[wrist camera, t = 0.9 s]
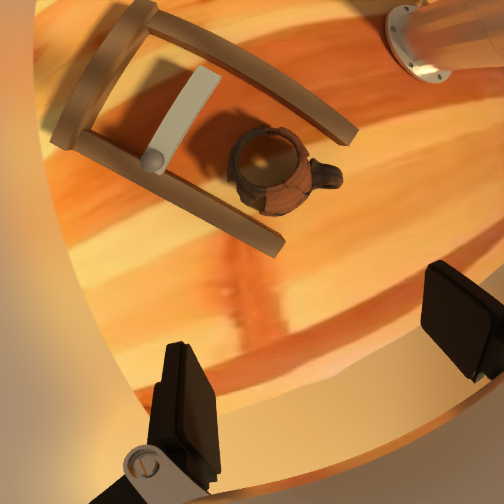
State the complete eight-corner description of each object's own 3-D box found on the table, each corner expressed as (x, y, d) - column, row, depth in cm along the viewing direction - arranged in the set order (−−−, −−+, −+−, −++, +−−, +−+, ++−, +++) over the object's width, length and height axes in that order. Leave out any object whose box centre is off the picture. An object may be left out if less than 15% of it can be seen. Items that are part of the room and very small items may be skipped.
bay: (145, 11, 23) (137, -4, 19) (349, 129, 31) (367, 129, 27) (67, 140, 27) (49, 141, 23) (270, 250, 36) (277, 265, 32)
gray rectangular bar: (200, 70, 24) (198, 60, 21) (220, 80, 25) (222, 72, 22) (143, 162, 27) (134, 165, 24) (163, 172, 28) (156, 177, 24)
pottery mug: (237, 223, 35) (220, 208, 26) (237, 150, 35) (221, 118, 27) (340, 219, 33) (353, 203, 25) (333, 145, 34) (341, 112, 25)
